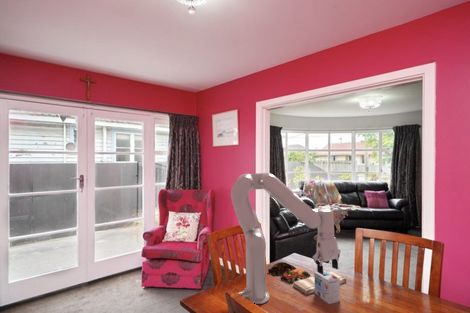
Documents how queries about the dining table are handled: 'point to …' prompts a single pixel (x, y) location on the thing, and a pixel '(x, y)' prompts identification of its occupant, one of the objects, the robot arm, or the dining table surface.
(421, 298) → the dining table surface
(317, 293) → the light bulb box
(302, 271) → the food
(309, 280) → the plank
